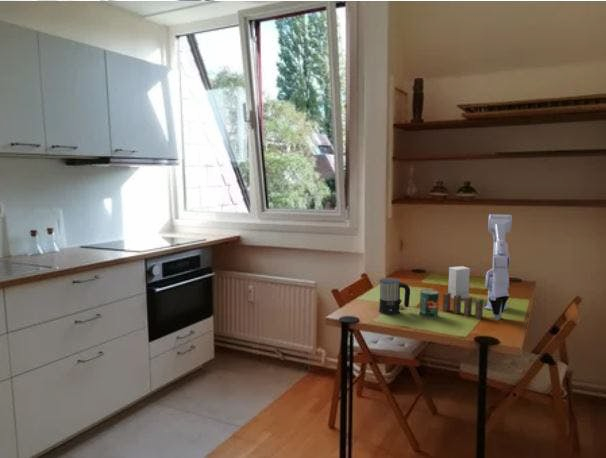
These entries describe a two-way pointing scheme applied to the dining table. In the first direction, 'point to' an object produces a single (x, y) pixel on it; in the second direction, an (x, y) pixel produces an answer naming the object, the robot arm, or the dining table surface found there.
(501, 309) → the domino
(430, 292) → the canned tomato
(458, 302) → the domino
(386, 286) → the milk frother
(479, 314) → the domino
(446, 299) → the domino
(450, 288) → the skincare box
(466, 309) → the domino
